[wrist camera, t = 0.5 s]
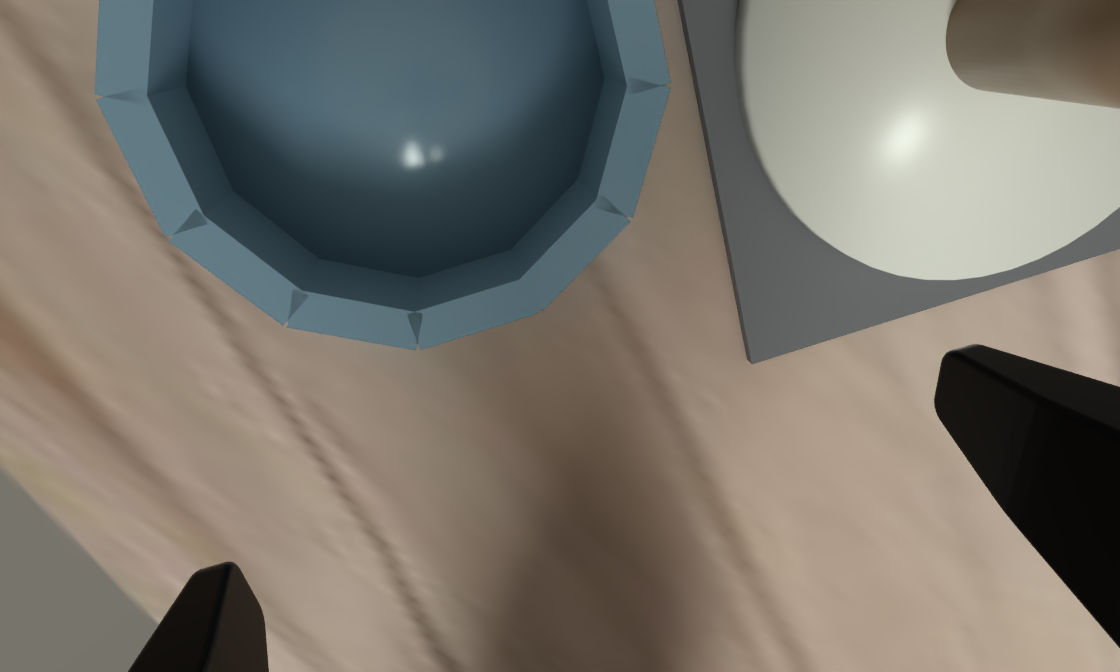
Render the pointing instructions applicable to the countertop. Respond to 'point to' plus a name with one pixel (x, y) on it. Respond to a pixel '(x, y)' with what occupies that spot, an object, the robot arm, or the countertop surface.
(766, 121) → the lid
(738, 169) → the mat
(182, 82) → the bowl
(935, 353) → the countertop surface
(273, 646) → the countertop surface
